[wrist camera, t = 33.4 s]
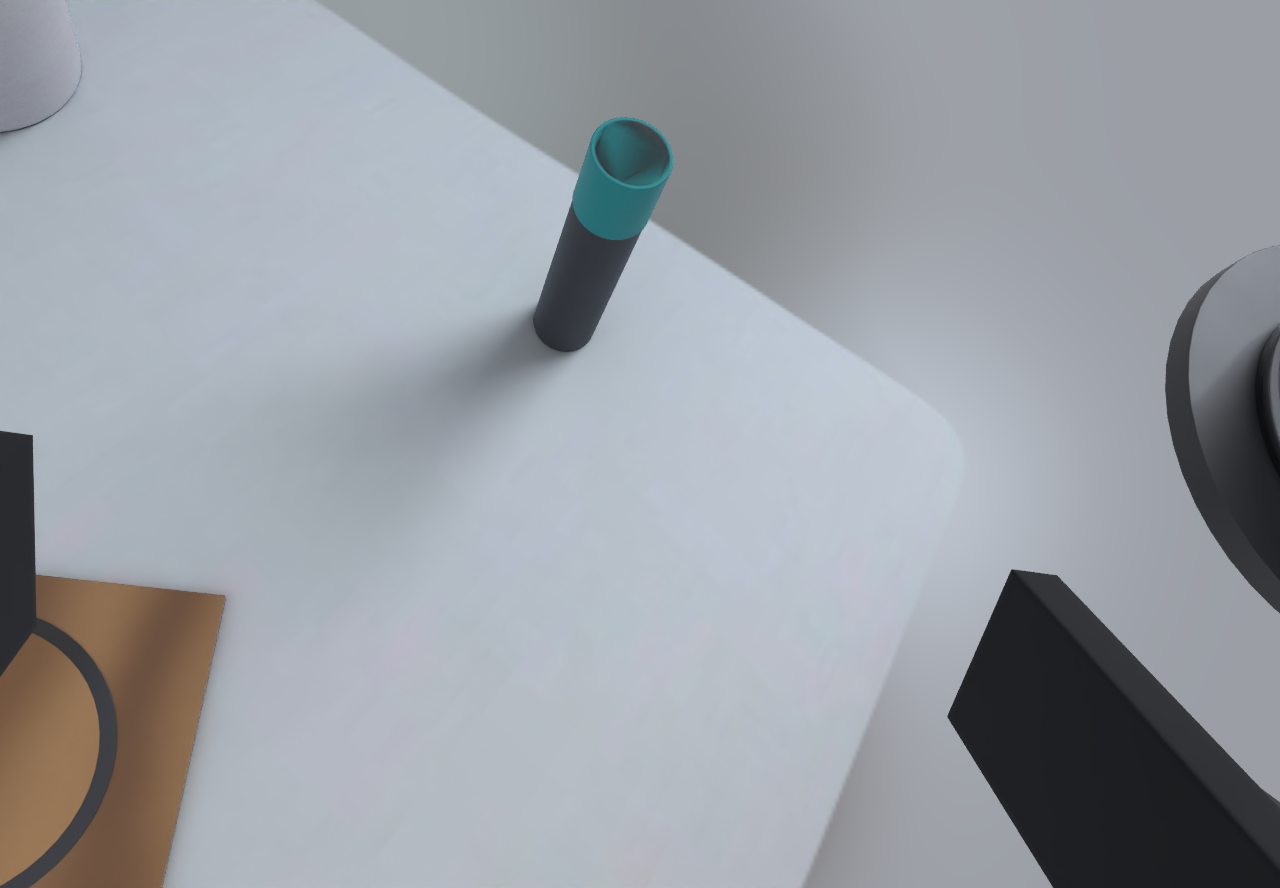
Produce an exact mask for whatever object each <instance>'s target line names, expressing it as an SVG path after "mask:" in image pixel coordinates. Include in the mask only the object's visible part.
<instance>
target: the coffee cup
mask: <svg viewBox="0 0 1280 888" xmlns="http://www.w3.org/2000/svg"><path fill="white" fill-rule="evenodd" d="M81 68H82V65H81V56H80V52H79V48H78V44H77V40H76V36H75V32H74V28H73V24H72V20H71V16H70V12H69V8H68V4H67V0H0V132H2V131H10V130H16V129H20V128H24V127H27V126H30V125H33V124H36V123H38V122H40V121H42V120H44V119H46V118H48V117H49V116H51V115H53V114H54V113H55V112H57V111H58V110H59V109H60V108H62V107H63V106H64V105H65V104H66V103H67V102H68V100H69V99H70V98H71V96H72V95H73V93H74V92H75V90H76V88H77V86H78V83H79V80H80V76H81Z"/></svg>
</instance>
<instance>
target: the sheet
mask: <svg viewBox="0 0 1280 888" xmlns="http://www.w3.org/2000/svg"><path fill="white" fill-rule="evenodd" d="M225 600H226V597H225V596H224V595H216V594H207V593H197V592H188V591H179V590H170V589H161V588H152V587H142V586H133V585H124V584H115V583H106V582H97V581H87V580H78V579H69V578H60V577H51V576H42V575H36V624H37V627H36V628H35V630H34V631H33V632H32V634H31V635H30V636H29V638H28V639H27V641H26V642H25V643H24V645H23V646H22V648H21V649H20V650H19V652H18V653H17V655H16V656H15V657H14V659H13V660H12V661H11V663H10V664H9V666H8V667H7V668H6V670H5V671H4V673H3V674H2V675H1V677H0V888H162V886H163V882H164V877H165V873H166V868H167V864H168V859H169V855H170V850H171V845H172V841H173V836H174V832H175V827H176V823H177V818H178V814H179V809H180V805H181V800H182V795H183V791H184V786H185V782H186V777H187V773H188V768H189V764H190V759H191V755H192V750H193V745H194V741H195V736H196V732H197V727H198V723H199V718H200V714H201V709H202V705H203V700H204V696H205V691H206V686H207V682H208V677H209V673H210V668H211V664H212V659H213V655H214V650H215V646H216V641H217V636H218V632H219V627H220V623H221V618H222V614H223V609H224V605H225Z"/></svg>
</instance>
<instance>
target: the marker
mask: <svg viewBox="0 0 1280 888" xmlns="http://www.w3.org/2000/svg"><path fill="white" fill-rule="evenodd" d="M672 168H673V153H672V150H671V147H670V145H669V143H668V141H667V139H666V138H665V137H664V136H663V134H661V132H660V131H659V130H657V129H656V128H655V127H653V126H652V125H650V124H648V123H646V122H644V121H642V120H639V119H635V118H627V117H621V118H614V119H611V120H609V121H607V122H605V123H603V124H602V125H600V126H599V127H598V128H597V129H596V131H595V132H594V134H593V136H592V138H591V141H590V145H589V147H588V150H587V153H586V156H585V159H584V162H583V166H582V169H581V172H580V174H579V177H578V180H577V184H576V187H575V190H574V193H573V200H572V203H571V206H570V209H569V212H568V215H567V218H566V221H565V224H564V227H563V230H562V233H561V236H560V239H559V242H558V245H557V248H556V251H555V254H554V257H553V260H552V263H551V266H550V269H549V272H548V275H547V278H546V281H545V284H544V287H543V290H542V293H541V296H540V299H539V302H538V305H537V308H536V311H535V314H534V328H535V331H536V333H537V335H538V336H539V338H540V339H541V340H542V341H543V342H544V343H545V344H546V345H548V346H549V347H551V348H553V349H556V350H560V351H573V350H577V349H579V348H581V347H583V346H584V345H586V344H587V343H588V342H589V340H590V339H591V337H592V335H593V333H594V331H595V328H596V326H597V324H598V322H599V320H600V318H601V316H602V314H603V312H604V309H605V307H606V305H607V303H608V301H609V299H610V297H611V295H612V293H613V290H614V288H615V286H616V284H617V282H618V280H619V278H620V276H621V273H622V271H623V269H624V267H625V265H626V263H627V261H628V259H629V257H630V254H631V252H632V250H633V248H634V246H635V244H636V242H637V240H638V238H639V235H640V233H641V231H642V230H643V229H644V227H645V226H646V224H647V222H648V220H649V218H650V215H651V213H652V211H653V209H654V207H655V205H656V203H657V201H658V199H659V197H660V195H661V192H662V190H663V188H664V186H665V184H666V182H667V179H668V178H669V176H670V173H671V171H672Z"/></svg>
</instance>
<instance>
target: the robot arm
mask: <svg viewBox="0 0 1280 888" xmlns="http://www.w3.org/2000/svg"><path fill="white" fill-rule="evenodd" d="M1256 404H1257V412H1258V418H1259V423H1260V427H1261V432H1262V435H1263V438H1264V441H1265V445H1266V447H1267V450H1268V453H1269V455H1270V458H1271V460H1272V462H1273V465H1274V467H1275V469H1276V471H1277V473H1278V475H1279V477H1280V325H1279V326H1278V327H1277V328H1276V330H1275V331H1274V332H1273V333H1272V335H1271V336H1270V338H1269V339H1268V341H1267V343H1266V345H1265V347H1264V349H1263V352H1262V354H1261V357H1260V361H1259V365H1258V370H1257V377H1256ZM36 627H37V624H36V575H35V527H34V478H33V435H26V434H19V433H11V432H4V431H0V677H1V675H2V674H3V673H4V671H5V670H6V668H7V667H8V666H9V664H10V663H11V661H12V660H13V659H14V657H15V656H16V655H17V653H18V652H19V650H20V649H21V648H22V646H23V645H24V643H25V642H26V641H27V639H28V638H29V636H30V635H31V634H32V632H33V631H34V630H35V628H36ZM948 719H949V720H950V722H951V724H952V725H953V727H954V728H955V730H956V731H957V733H958V735H959V737H960V738H961V740H962V741H963V743H964V745H965V746H966V748H967V749H968V751H969V753H970V754H971V756H972V757H973V759H974V761H975V762H976V764H977V765H978V767H979V769H980V770H981V772H982V774H983V775H984V777H985V778H986V780H987V782H988V783H989V785H990V786H991V788H992V790H993V791H994V793H995V794H996V796H997V798H998V799H999V801H1000V803H1001V804H1002V806H1003V807H1004V809H1005V811H1006V812H1007V814H1008V815H1009V817H1010V819H1011V820H1012V822H1013V823H1014V825H1015V827H1016V828H1017V830H1018V832H1019V833H1020V835H1021V836H1022V838H1023V840H1024V841H1025V843H1026V845H1027V846H1028V848H1029V849H1030V851H1031V852H1032V854H1033V856H1034V857H1035V859H1036V861H1037V862H1038V864H1039V865H1040V867H1041V869H1042V870H1043V872H1044V874H1045V875H1046V876H1047V878H1048V880H1049V881H1050V883H1051V885H1052V886H1053V888H1280V802H1279V801H1277V800H1276V799H1275V798H1273V797H1272V796H1271V795H1269V794H1268V793H1266V792H1265V791H1264V790H1262V789H1261V788H1260V787H1259V786H1258V785H1257V784H1256V783H1255V782H1254V781H1253V780H1252V779H1251V778H1250V777H1249V776H1248V774H1247V773H1246V772H1244V770H1243V769H1242V768H1241V767H1240V766H1239V765H1238V764H1237V763H1236V762H1235V761H1234V760H1233V759H1232V758H1231V757H1230V756H1229V755H1228V754H1227V753H1226V752H1225V750H1224V749H1223V748H1222V747H1221V746H1220V745H1219V744H1218V743H1217V742H1216V741H1215V740H1214V739H1213V738H1212V737H1211V736H1210V735H1209V734H1208V733H1207V732H1206V731H1205V730H1204V729H1203V727H1202V726H1201V725H1200V724H1199V723H1198V722H1197V721H1196V720H1195V719H1194V718H1193V717H1192V716H1191V715H1190V714H1189V713H1188V712H1187V711H1186V710H1185V709H1184V708H1183V707H1182V705H1180V703H1179V702H1178V701H1177V700H1176V699H1175V698H1174V697H1173V696H1172V695H1171V694H1170V693H1169V692H1168V691H1167V690H1166V689H1165V688H1164V687H1163V686H1162V685H1161V684H1160V683H1159V681H1158V680H1157V679H1156V678H1155V677H1154V676H1153V675H1152V674H1151V673H1150V672H1149V671H1148V670H1147V669H1146V668H1145V667H1144V666H1143V665H1142V664H1141V663H1140V662H1139V661H1138V660H1137V658H1136V657H1135V656H1134V655H1133V654H1132V653H1131V652H1130V651H1129V650H1128V649H1127V648H1126V647H1125V646H1124V645H1123V644H1122V643H1121V642H1120V641H1119V640H1118V639H1117V638H1116V637H1115V636H1114V635H1113V633H1112V632H1111V631H1110V630H1109V629H1108V628H1107V627H1106V626H1105V625H1104V624H1103V623H1102V622H1101V621H1100V620H1099V619H1098V618H1097V617H1096V616H1095V615H1094V614H1093V612H1092V611H1091V610H1090V609H1089V608H1088V607H1087V606H1086V605H1085V604H1084V603H1083V602H1082V601H1081V600H1080V599H1079V598H1078V597H1077V596H1076V595H1075V594H1074V593H1073V592H1072V591H1071V589H1070V588H1069V587H1068V586H1067V585H1066V584H1065V583H1063V581H1061V579H1060V578H1059V577H1058V576H1057V575H1049V574H1042V573H1035V572H1028V571H1020V570H1011V572H1010V574H1009V576H1008V579H1007V581H1006V583H1005V586H1004V588H1003V590H1002V592H1001V595H1000V597H999V600H998V602H997V604H996V606H995V608H994V611H993V613H992V615H991V618H990V620H989V622H988V625H987V627H986V629H985V631H984V634H983V636H982V638H981V641H980V643H979V645H978V647H977V650H976V652H975V654H974V657H973V659H972V661H971V663H970V666H969V668H968V670H967V673H966V675H965V677H964V680H963V682H962V684H961V686H960V689H959V691H958V693H957V695H956V698H955V700H954V702H953V705H952V707H951V709H950V711H949V714H948Z"/></svg>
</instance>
